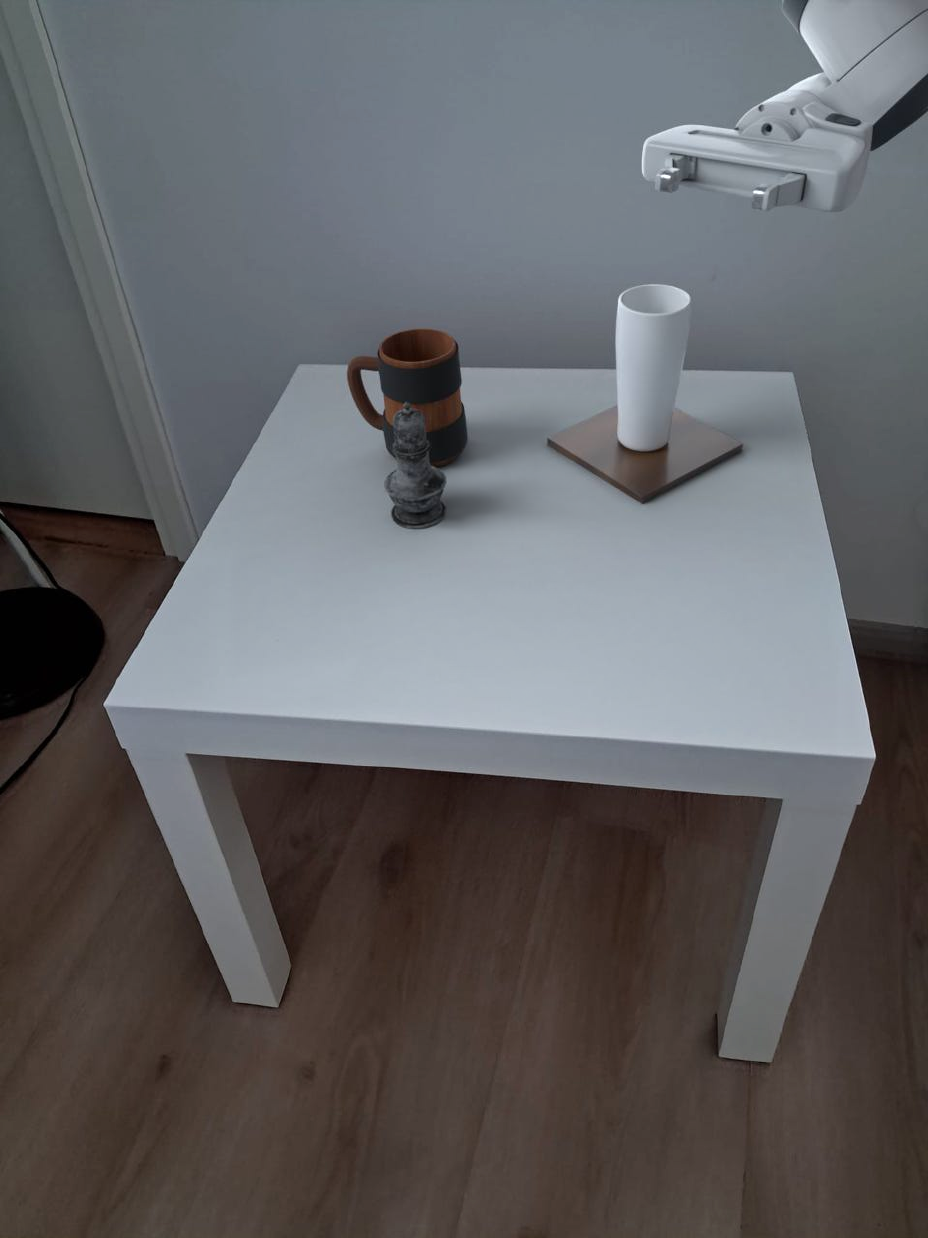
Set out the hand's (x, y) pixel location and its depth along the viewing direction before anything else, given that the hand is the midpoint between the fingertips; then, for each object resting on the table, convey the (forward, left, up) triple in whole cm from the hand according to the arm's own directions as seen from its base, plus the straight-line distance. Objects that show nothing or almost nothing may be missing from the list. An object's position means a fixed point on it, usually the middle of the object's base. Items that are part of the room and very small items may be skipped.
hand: (709, 191), depth 82 cm
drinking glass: (0, +6, -23) cm, 24 cm away
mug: (+16, +24, -24) cm, 37 cm away
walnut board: (0, +6, -24) cm, 25 cm away
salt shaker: (+6, +30, -24) cm, 39 cm away
